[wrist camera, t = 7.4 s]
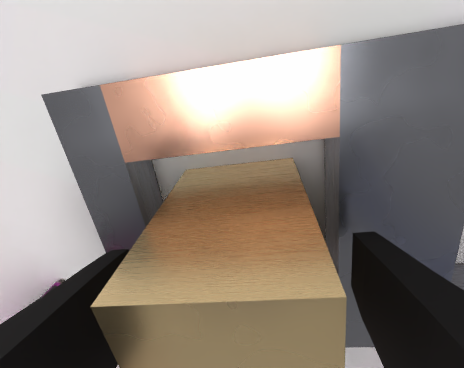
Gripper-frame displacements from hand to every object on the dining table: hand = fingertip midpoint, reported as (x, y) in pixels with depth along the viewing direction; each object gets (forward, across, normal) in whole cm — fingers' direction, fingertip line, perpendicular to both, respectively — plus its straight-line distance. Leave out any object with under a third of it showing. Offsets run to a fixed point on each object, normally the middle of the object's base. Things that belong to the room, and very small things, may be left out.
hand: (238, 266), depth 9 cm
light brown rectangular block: (+3, 0, 0) cm, 4 cm away
